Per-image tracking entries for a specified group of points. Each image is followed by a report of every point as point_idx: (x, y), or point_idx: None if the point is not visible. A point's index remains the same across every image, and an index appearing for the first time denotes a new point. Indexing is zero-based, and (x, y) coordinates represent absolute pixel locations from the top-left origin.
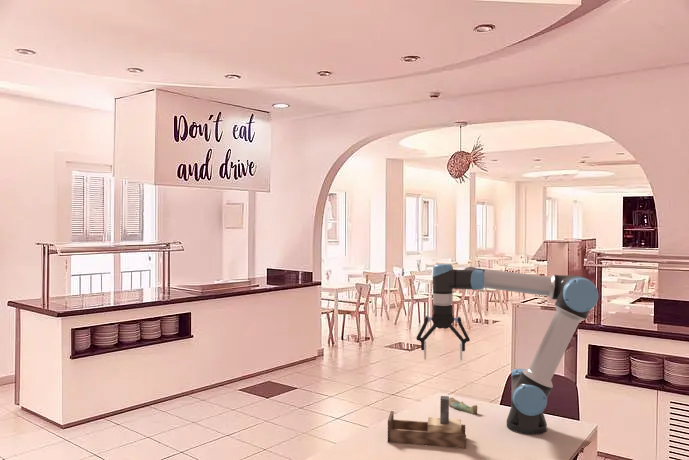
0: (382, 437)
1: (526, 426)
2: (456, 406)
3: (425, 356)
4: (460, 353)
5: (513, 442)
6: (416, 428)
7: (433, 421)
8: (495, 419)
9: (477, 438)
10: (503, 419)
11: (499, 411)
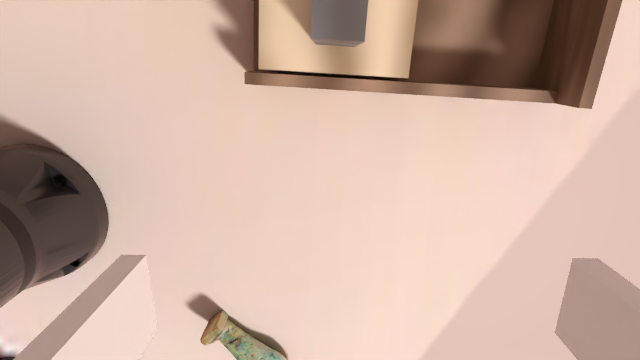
0: None
1: (16, 154)
2: (276, 352)
3: (607, 281)
4: (89, 311)
5: (80, 58)
6: (446, 83)
7: (390, 17)
8: None
9: (210, 79)
10: None
11: None
